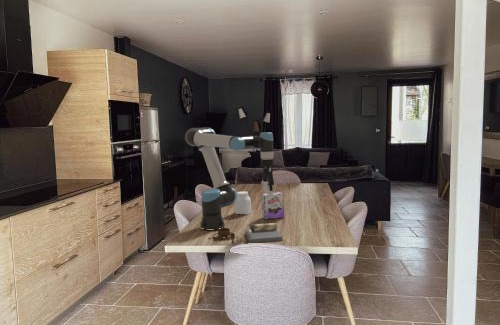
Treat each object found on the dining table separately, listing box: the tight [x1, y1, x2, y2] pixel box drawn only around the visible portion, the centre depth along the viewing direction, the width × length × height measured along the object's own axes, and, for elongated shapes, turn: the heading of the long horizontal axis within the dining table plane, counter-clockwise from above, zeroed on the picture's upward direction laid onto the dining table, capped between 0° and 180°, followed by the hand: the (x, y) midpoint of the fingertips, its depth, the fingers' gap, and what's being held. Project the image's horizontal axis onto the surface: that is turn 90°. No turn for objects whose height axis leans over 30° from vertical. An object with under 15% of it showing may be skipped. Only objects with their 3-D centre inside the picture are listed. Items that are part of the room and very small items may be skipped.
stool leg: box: [248, 222, 278, 231], centre depth 216 cm, size 16×3×3 cm, turn 98°
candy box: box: [261, 192, 285, 220], centre depth 251 cm, size 14×6×16 cm, turn 105°
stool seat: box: [244, 228, 283, 244], centre depth 209 cm, size 18×17×5 cm
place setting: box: [213, 227, 236, 244], centre depth 208 cm, size 18×20×6 cm
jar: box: [234, 191, 252, 215], centre depth 266 cm, size 12×10×15 cm
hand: (268, 194), depth 223 cm, fingers open, 13 cm apart
